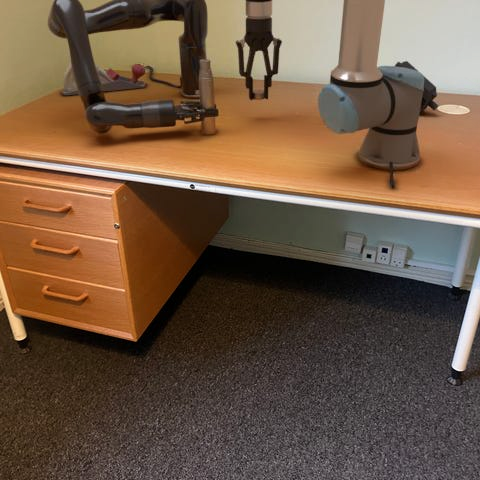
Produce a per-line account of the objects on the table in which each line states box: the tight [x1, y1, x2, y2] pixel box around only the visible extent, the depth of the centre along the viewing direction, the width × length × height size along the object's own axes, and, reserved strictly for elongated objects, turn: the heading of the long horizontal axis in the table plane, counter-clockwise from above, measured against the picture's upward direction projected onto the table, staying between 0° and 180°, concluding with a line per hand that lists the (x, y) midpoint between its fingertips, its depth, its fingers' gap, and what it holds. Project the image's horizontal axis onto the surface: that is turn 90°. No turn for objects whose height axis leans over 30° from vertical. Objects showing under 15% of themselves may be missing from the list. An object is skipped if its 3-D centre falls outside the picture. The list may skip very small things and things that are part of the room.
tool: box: [394, 60, 439, 113], centre depth 169 cm, size 6×19×15 cm, turn 51°
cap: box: [253, 89, 266, 101], centre depth 162 cm, size 4×4×2 cm
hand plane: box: [61, 62, 146, 96], centre depth 194 cm, size 7×31×15 cm, turn 107°
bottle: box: [199, 58, 217, 136], centre depth 153 cm, size 4×4×21 cm
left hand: (216, 109), depth 155 cm, fingers closed on bottle, 4 cm apart
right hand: (258, 98), depth 163 cm, fingers closed on cap, 4 cm apart
